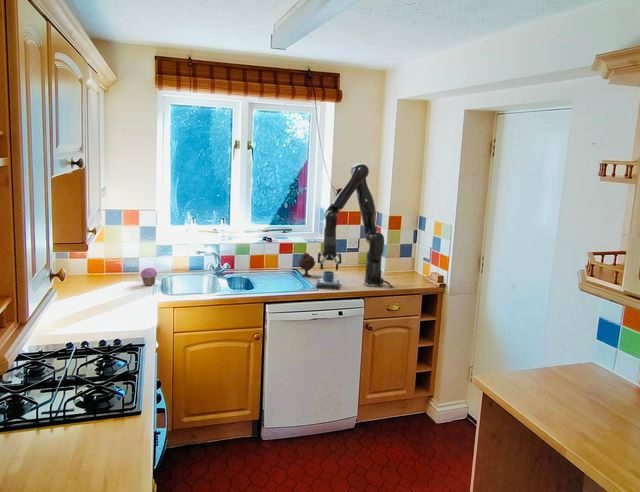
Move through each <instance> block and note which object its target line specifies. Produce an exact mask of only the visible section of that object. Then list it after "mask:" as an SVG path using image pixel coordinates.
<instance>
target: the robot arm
mask: <svg viewBox="0 0 640 492" xmlns="http://www.w3.org/2000/svg"><path fill="white" fill-rule="evenodd" d="M369 170H370V169H369V167H368V166H367V165H366V164H363V163H354V164H353V165H352V166H351V168H350V175H351V177H350V179H349V180H348V182H347V183H346V184H345V186H344V187H342V188H341V190H340V191H339V192H338V193H337V195H336V196H335V198H334V199H333V201H332V203H331V204H330V205H329V206H328V207H327V209H326V210H325V211H324V213H323V218H324V220H325V227H324V231H323V250H322V251H323V252H320V251H318V253H317V264H320V269H321V271H323V270H324V262H326V261H333V262H334V263H335V271H338V270H339V265H340V264H342V253H341V252H339V253H337V226H338V214H339V212H340V211H342V210H343V209H344V207H345V206H346V205H347V202H348V201H349V200H350V199H351V197H352V195H353V194H354V192H355V191H356V192H355V193H356V198H357V203H358V207H359V212H360V216H361V219H362V224H363V229H364V237H365V241H366V242H367V244H368V245H369V248H368V251H366V259H365V278H364V285H365V286H368V287H381V285H384V283H385V284H387V285H388V286H389V287H390V288H394V285H392V284H391V283H390V282H389V281H387V280H384V277H382V261H383V260H382V256H383V253H384V247H385V236H384V235H383V233H381V231H380V232H379V231H378V229H377V226H376V205H375V200H374V197H373V195H372V193H371V190H370V188H369V186H368V182H367V177H368V176H369V173H370V171H369ZM322 256H323V258H322ZM336 257H338V259H337V258H336ZM321 258H322V259H321Z"/></svg>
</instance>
